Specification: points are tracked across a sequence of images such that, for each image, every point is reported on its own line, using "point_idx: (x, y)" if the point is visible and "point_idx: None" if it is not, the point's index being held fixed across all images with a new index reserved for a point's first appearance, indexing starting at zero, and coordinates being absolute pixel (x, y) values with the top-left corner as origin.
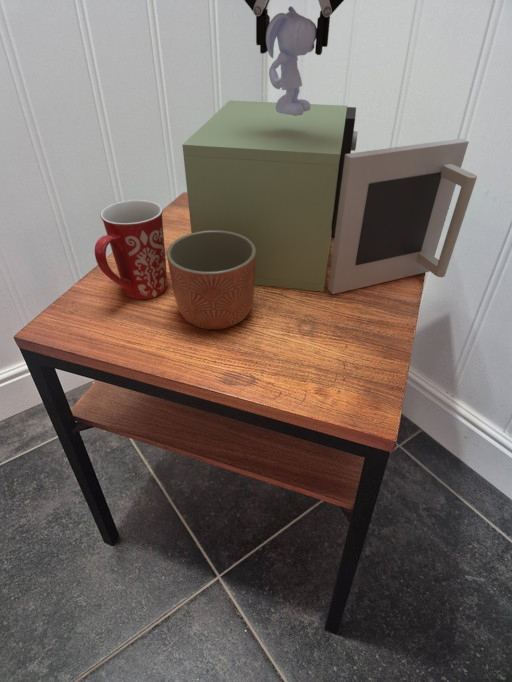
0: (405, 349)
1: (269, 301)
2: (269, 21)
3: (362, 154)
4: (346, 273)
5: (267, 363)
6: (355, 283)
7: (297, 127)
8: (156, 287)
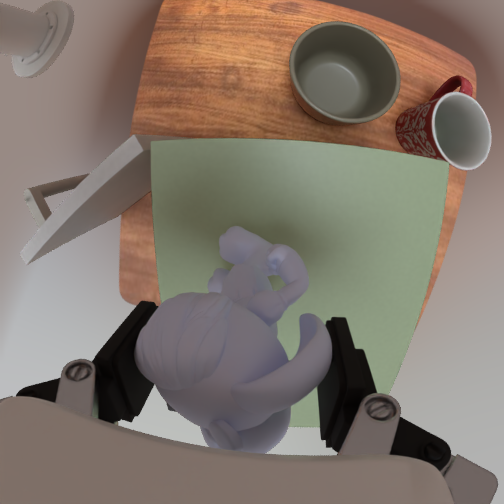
0: (142, 73)
1: (276, 115)
2: (321, 427)
3: (117, 155)
4: None
5: (263, 26)
6: None
7: None
8: (404, 112)
